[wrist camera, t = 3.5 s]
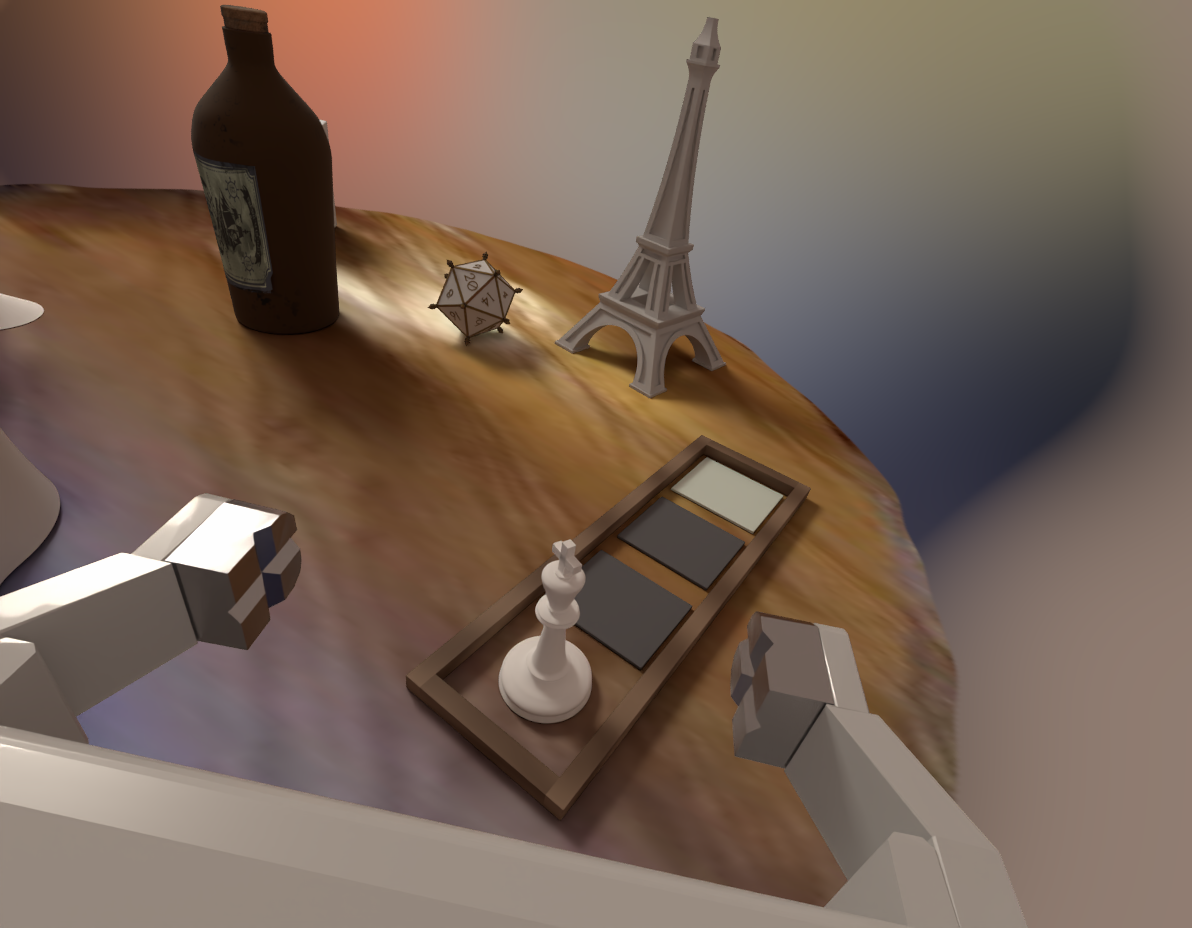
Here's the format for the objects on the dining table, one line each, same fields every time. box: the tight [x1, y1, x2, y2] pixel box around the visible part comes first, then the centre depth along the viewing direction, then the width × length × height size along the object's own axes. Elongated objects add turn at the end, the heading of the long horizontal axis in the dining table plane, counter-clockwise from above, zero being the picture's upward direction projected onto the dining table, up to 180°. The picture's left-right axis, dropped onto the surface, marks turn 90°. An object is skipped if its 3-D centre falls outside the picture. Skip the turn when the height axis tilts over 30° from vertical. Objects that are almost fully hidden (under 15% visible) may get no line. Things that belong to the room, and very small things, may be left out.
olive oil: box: [191, 5, 339, 334], centre depth 55 cm, size 11×11×25 cm
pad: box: [671, 457, 783, 534], centre depth 49 cm, size 6×7×1 cm
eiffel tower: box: [555, 17, 726, 398], centre depth 58 cm, size 13×13×30 cm
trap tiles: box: [574, 497, 745, 670], centre depth 40 cm, size 14×7×1 cm, turn 144°
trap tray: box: [406, 435, 811, 821], centre depth 40 cm, size 32×10×1 cm, turn 144°
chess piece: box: [499, 539, 592, 723], centre depth 30 cm, size 5×5×10 cm
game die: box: [428, 251, 523, 346], centre depth 62 cm, size 9×8×10 cm
